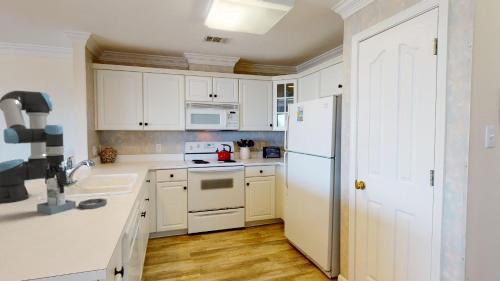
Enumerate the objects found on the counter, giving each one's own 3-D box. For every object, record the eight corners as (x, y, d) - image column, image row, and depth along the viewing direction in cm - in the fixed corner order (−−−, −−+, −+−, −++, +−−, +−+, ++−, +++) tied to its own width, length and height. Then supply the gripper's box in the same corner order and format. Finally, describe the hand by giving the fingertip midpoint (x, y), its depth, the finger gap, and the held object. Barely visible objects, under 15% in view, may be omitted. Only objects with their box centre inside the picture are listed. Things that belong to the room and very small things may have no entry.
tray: (37, 211, 138) (36, 204, 138) (61, 205, 149) (61, 198, 149) (51, 214, 133) (51, 207, 133) (75, 207, 144) (75, 201, 144)
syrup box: (66, 204, 143) (65, 177, 143) (57, 207, 138) (56, 179, 137) (56, 204, 144) (55, 177, 143) (46, 207, 138) (45, 179, 137)
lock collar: (74, 207, 146) (73, 203, 145) (96, 201, 157) (95, 197, 157) (90, 210, 140) (89, 206, 140) (111, 203, 152) (111, 200, 152)
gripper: (35, 154, 140) (37, 198, 141) (59, 156, 132) (60, 202, 133) (50, 153, 147) (52, 194, 148) (74, 154, 139) (76, 198, 140)
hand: (56, 198), depth 141 cm, fingers closed on syrup box, 7 cm apart
